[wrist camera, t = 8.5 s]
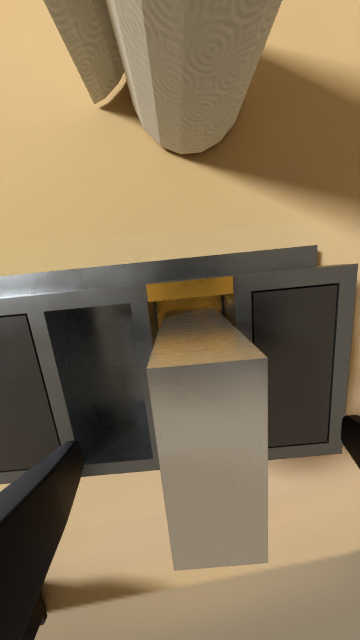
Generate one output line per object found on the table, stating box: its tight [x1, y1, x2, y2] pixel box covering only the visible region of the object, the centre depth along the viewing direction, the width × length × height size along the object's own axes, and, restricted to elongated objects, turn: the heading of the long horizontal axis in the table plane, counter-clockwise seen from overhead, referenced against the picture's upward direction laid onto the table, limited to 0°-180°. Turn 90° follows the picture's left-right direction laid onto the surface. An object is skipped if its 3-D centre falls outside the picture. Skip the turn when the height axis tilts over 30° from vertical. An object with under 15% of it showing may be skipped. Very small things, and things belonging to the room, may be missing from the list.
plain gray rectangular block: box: [146, 307, 268, 571], centre depth 10 cm, size 3×7×8 cm, turn 6°
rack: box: [0, 245, 358, 484], centre depth 13 cm, size 21×13×4 cm, turn 96°
